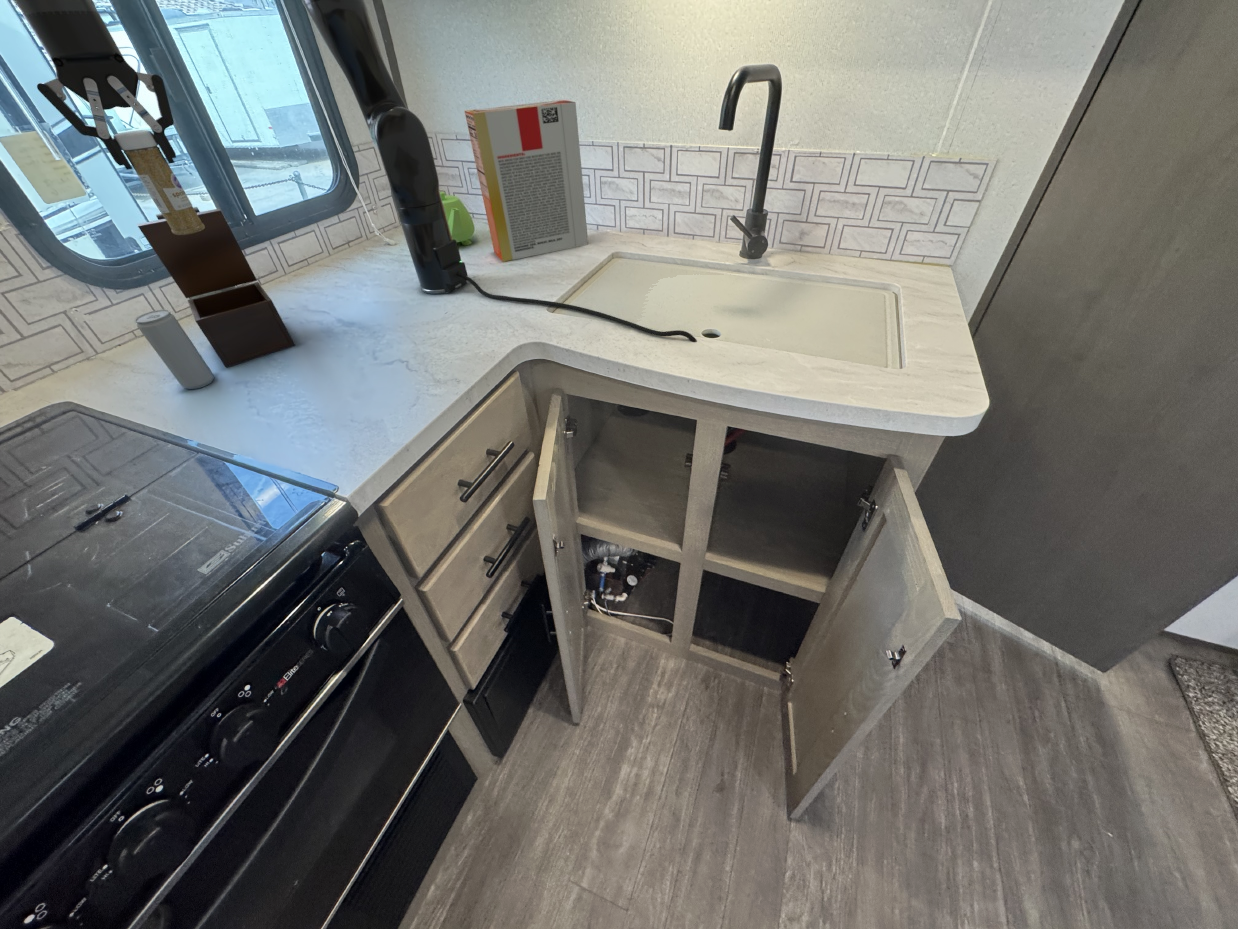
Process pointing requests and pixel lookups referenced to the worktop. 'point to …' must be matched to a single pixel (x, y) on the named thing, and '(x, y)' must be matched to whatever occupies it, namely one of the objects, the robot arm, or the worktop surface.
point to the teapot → (458, 219)
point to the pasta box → (530, 177)
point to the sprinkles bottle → (159, 181)
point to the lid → (200, 254)
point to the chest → (241, 323)
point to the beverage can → (175, 348)
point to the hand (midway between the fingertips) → (150, 164)
